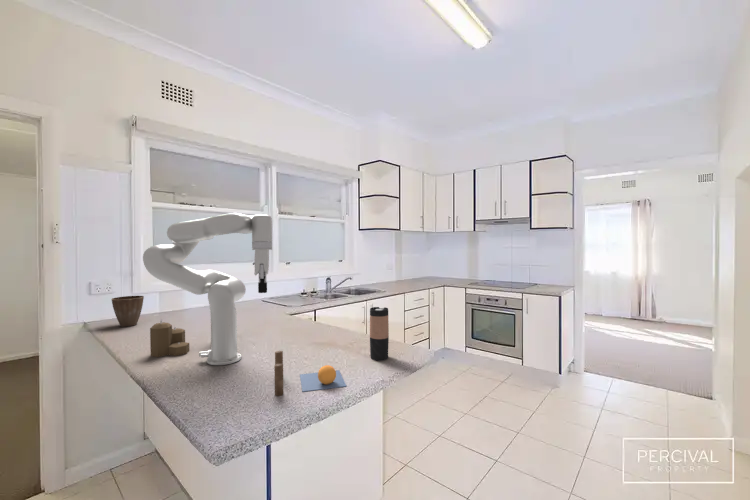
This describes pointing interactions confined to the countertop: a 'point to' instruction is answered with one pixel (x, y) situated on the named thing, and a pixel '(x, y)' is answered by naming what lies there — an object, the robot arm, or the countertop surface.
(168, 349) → the candle
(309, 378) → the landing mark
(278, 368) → the post
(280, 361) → the post
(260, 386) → the countertop surface
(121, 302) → the plant pot
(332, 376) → the ball
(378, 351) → the travel mug
